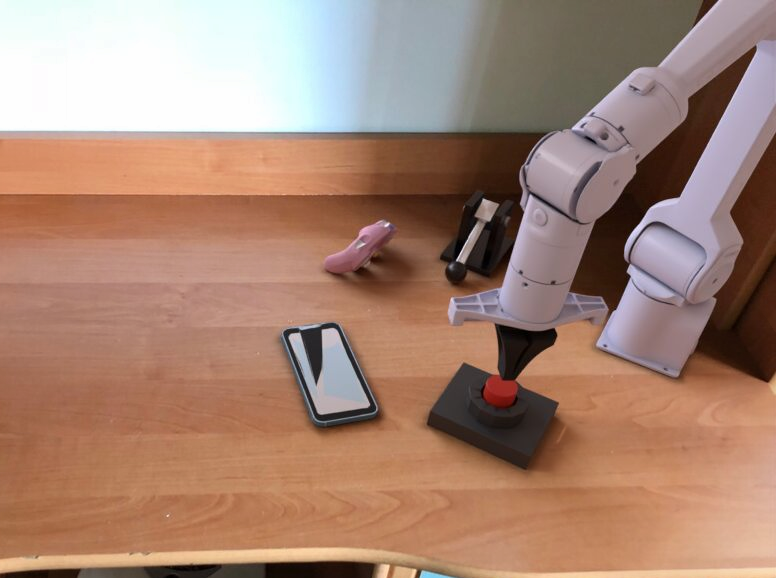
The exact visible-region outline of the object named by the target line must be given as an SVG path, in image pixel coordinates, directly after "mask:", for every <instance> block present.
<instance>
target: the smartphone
mask: <svg viewBox="0 0 776 578" xmlns="http://www.w3.org/2000/svg"><path fill="white" fill-rule="evenodd" d="M280 338H281V342H282V344H283V347H284V350H285V352H286V354H287V358H288V361H289V363H290V366H291V368H292V371H293V373H294V376H295V379H296V381H297V384H298V387H299V389H300V392H301V395H302V398H303V400H304V402H305V405H306V409H307V411H308V414H309V416H310V420H311V422H312V423H313V424H314V425H315V426H317V427H320V428H324V427H330V426H336V425H341V424H347V423H354V422H359V421H360V422H361V421H365V420H370V419H374V418H375V417H377V415H378V412H379V406H378V404H377V401H376V399H375V398H374V395H373V393H372V390H371V389H370V386H369V384H368V382H367V379H366V377H365V375H364V373H363V370H362V368H361V367H360V364H359V362H358V360H357V357H356V355H355V353H354V351H353V348H352V346H351V344H350V342H349V339H348V338H347V336H346V333H345V332H344V330H343V327H342V325H341V324H340V323H339V322H336V321H326V322H325V321H324V322H319V323H313V324H305V325H304V324H303V325H297V326H291V327H286V328H284V329H282V331H281V335H280Z"/></svg>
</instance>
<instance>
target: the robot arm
mask: <svg viewBox="0 0 776 578" xmlns="http://www.w3.org/2000/svg"><path fill="white" fill-rule="evenodd" d="M755 46H756V50H755V51H756V52H755V53H754V56H753V57H752V59H751V61H750V63H749V65H748V67H747V69H746V71H745V72H744V74H743V77H742V78H741V81H740V82H739V84H738V86H737V87H736V90H735V92H734V93H733V96H732V98H731V100H730V101H729V103H728V104H727V107H726V109H725V111H724V112H723V114H722V116H721V119H720V120H719V122H718V124H717V126H716V128H715V130H714V132H713V133H712V135H711V137H710V139H709V141H708V143H707V145H706V147H705V148H704V150H703V152H702V154H701V156H700V158H699V160H698V162H697V164H696V166H695V167H694V170H693V172H692V174H691V176H690V177H689V179H688V181H687V183H686V185H685V187H684V189H683V190H682V192H681V194H680V196H679V197H674V198H668V199H664V200H662V201H659V202H657V203H655V204H654V205H651V207H649V209H648V210H647V211H646V213H645V215H644V217H643V218H642V219H641V221H640V222H639V224H638V225H637V226H635V228H634V229H633V231H631V233H630V235H629V236H628V238H627V240H626V243H625V245H624V254H623V257H624V260H625V262H626V263H628V264H629V266H628V268H627V270H626V274H628V275H629V276H630V277H629V279H628V283H627V285H626V287H625V289H624V292H623V294H622V296H621V299H620V301H619V303H618V305H617V308H616V310H613V311H612V313H611V315H610V317H609V318H608V321H607V323H606V325H605V326H604V328H603V330H602V332H601V334H600V336H599V338H598V340H597V342H596V344H595V347H596V348H597V349H599V350H601V351H603V352H605V353H608V354H611V355H614V356H617V357H619V358H621V359H624V360H627V361H629V362H632V363H634V364H637V365H640V366H642V367H645V368H648V369H649V370H652V371H655V372H658V373H660V374H663V375H665V376H668V377H671V378H673V379H677V378H678V377H679V376H680V373H681V371H682V369H683V367H684V366H685V364H686V362H687V361H688V358H689V357H690V355H693V353H694V351H695V350H696V348H697V346H698V343H699V339H700V337H701V335H702V333H703V331H704V329H705V327H706V326H707V323H708V321H709V319H710V317H711V315H712V313H713V311H714V308H715V306H716V303H717V298H716V297H714V295H716V294H717V293H718V292H719V291H720V290H721V289H722V287H723V286H724V285H725V284H726V283H727V281H728V279H729V278H730V276H731V275H732V273H733V270H734V268H735V262H736V260H737V258H738V256H739V253H740V251H741V250H742V246H743V244H744V239H743V237H742V235H741V233H740V231H739V229H738V227H737V225H736V223H735V221H734V220H733V218H732V215H731V211H732V209H733V207H734V205H735V203H736V202H737V200H738V199H739V196H740V195H741V194H742V191H743V190H744V188H745V186H746V185H747V182H748V180H749V179H750V178H751V176H752V174H753V172H754V170H755V169H756V167H757V165H758V163H759V162H760V160H761V158H762V157H763V155H764V153H765V151H766V150H767V148H768V147H769V145H770V143H771V141H772V140H773V138H774V136H775V134H776V0H717V1H716V2H715V3H714V4H713V6H712V7H711V8H710V9H709V10H708V12H707V13H705V14H704V16H703V17H701V19H700V20H699V21H698V22H697V23H696V24H695V26H693V28H692V29H690V31H689V32H688V33H687V34H686V35H685V37H683V39H682V40H680V42H678V44H677V45H676V46H675V47H674V48H673V49H672V50H671V52H669V54H668V55H667V56H666V57H665V58H664V59H663V60H662V62H661V63H660V64H659V65H657V66H643V67H642V66H641V67H638V68H636V69H634V70H633V71H632V72H631V73H630V74H629V75H628V76H626V77H625V78H624V79H623V80H622V81H621V82H620V83H619V84H617V86H615V87H614V88H613V89H612V90H611V91H610V92H609V93H608V94H607V95H606V96H605V97H604V98H603V99H602V100H600V102H598V103H597V104H596V105H595V106H594V107H593V108H591V110H590V111H588V112H587V113H586V114H585V115H584V116H583V117H582V118H581V119H580V120H579V121H578V122H577V123H576V124H575V125H573V126H572V128H571V129H570V128H565V129H563V130H562V131H561V130H554V131H551V132H549V133H547V134H546V135H544V136H543V137H541V139H539V141H538V142H537V143H536V144H535V145H534V147H533V148H532V150H531V151H530V153H529V154H528V156H527V158H526V160H525V162H524V164H523V165H521V168H520V170H519V184H520V186H521V189H522V195H521V199H520V202H519V205H520V207H521V209H522V211H523V216H522V218H521V222H520V225H519V229H518V232H517V234H516V235H517V236H516V239H515V241H514V244H513V249H512V252H511V255H510V259H509V262H508V266H507V269H506V272H505V276H504V278H503V282H502V286H501V287H497V288H494V289H490V290H486V291H482V292H478V293H475V294H471V295H466V296H456V297H454V296H453V297H450V300H449V301H450V302H449V305H448V310H447V316H448V319H449V320H448V321H449V322H450V326H451V327H462V326H463V325H464V323H469V322H473V323H474V322H477V323H479V322H483V323H484V322H488V323H493V324H494V328H495V334H496V339H497V367H496V368H497V372H498V375H500V377H501V380H502V381H517V379H518V378H519V376H520V375H521V373H522V372H523V371H524V369H526V367H528V365H529V364H530V363H531V362H532V361H533V360H534V359H535V358H536V357H538V355H540V354H541V353H542V352H544V351H546V350H548V349H549V348H551V347H553V346H554V345H555V343H556V341H557V340H558V332H557V330H556V328H558V327H561V326H565V325H569V324H572V323H575V322H579V321H581V322H588V321H589V322H590V324H591V325H592V326H603V324H604V322H605V320H606V318H607V315H608V313H609V310H610V309H609V308H608V305H607V304H606V302H605V300H604V298H603V296H595V295H587V294H586V295H585V294H581V293H575V292H570V289H571V286H572V284H573V281H574V278H575V275H576V274H577V270H578V267H579V265H580V262H581V260H582V258H583V254H584V251H585V249H586V246H587V244H588V242H589V239H590V236H591V233H592V230H593V228H594V225H595V223H596V220H597V219H599V218H601V217H602V216H603V215H604V214H606V213H607V212H608V211H609V210H611V208H613V206H614V205H615V204H616V202H617V201H618V199H619V198H620V196H621V195H622V193H623V191H624V189H625V187H626V186H627V185H628V183H630V181H631V180H632V179H634V176H635V175H636V173H637V164H639V163H640V162H641V161H642V160H643V159H644V158H645V157H646V156H648V154H650V153H651V152H652V151H653V150H654V149H655V148H656V147H657V146H658V145H660V143H661V142H663V141H664V140H665V139H666V138H667V137H668V136H669V135H670V134H671V133H672V132H673V131H674V130H676V129H677V128H678V127H679V126H680V125H681V124H682V123H683V122H684V121H685V120H686V118H687V116H688V114H689V113H688V112H689V98H691V96H693V95H694V94H695V93H697V92H698V91H700V89H702V88H703V87H704V86H705V85H707V84H708V83H710V81H712V80H713V79H714V78H716V77H717V76H718V75H720V74H721V73H722V72H723V71H724V70H726V69H727V68H729V66H731V65H732V64H733V63H734V62H736V61H737V60H739V59H740V58H741V57H742V56H744V55H745V54H746V53H748V51H750V50H751V49H753V48H754V47H755Z"/></svg>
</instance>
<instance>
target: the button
mask: <svg viewBox="0 0 776 578" xmlns="http://www.w3.org/2000/svg"><path fill="white" fill-rule="evenodd" d="M493 375H494V376H492V377H490V378H489V379H488V380H487V382H486V386H485V389H484V392H483V397H484V399H485V401H486V402H487V403H488V404H490V405H492V406H494V407H497V408H507V407H509V406H511V405H512V404H513V402H514V400H515V397H516V394H517V391H518V386H517V384H516V382H515V381H516V380H515V381H502V380H501V377H500V374H493Z"/></svg>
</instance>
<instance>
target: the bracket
mask: <svg viewBox="0 0 776 578" xmlns="http://www.w3.org/2000/svg"><path fill="white" fill-rule="evenodd" d="M485 194H486V192H485V191H483V190H481V189H477V190H476V191H475V192H474V193H473V195H472V196H470V198H469V200H467V202H466V203H464V206H463V209H462V215H461V218H460V219H461V220H460V225H459V228H458V233H457V234H456V235H455V236H454V238H453V239H452V240H451V241H450V243H449V244H448V245H447V246H446V248H444V250H443V251H442V252H441V254H440V256H439V260H440V261H442V262H445V263H448V264H449V263H451V262H453V261H457V259H458V257H459V255H460V253H461V251H462V249H463V248H464V246H465V244H466V242H467V240H468V238H469V236H470V234H471V233H472V231H473V229H474V227H475V226H474V215H475V214H476V212H477V210H478V208H479V206H480V204H481V202H482V201H483V199H485ZM514 204H515V201H513V200H510V199H506V200H505V201H504V202H503V203H502V205H501V206H499V210H498V211H497V212H496V214H495V215H494V219H493V222H492V226H491V230H490V231H488V230H485V229H484V231H483V233H482V235H481V237H480V239H479V241H478V242H477V244H476V246H475V248H474V250H473V252H472V254H471V256H470V257H469V259H468V261H467V263H466V265H465V266H466V268H467V271H468V272H471V273H475V274H477V275H480V276H483V277H485V278H488V279H489V278H491V276H492V274H493V273H494V272H495V271H496V269H497V268H498V266H499V265H500V263H502V261H503V260H504V259H505V257H506V255H507V254H508V253H509V251H510V250H511V249H512V248H513V247H514V245H515V242H516V239H514V238H510V237H509V236H506V233H507V228H508V227H509V225H510V222H511V219H512V217H511V215H512V210H513V207H514Z"/></svg>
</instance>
